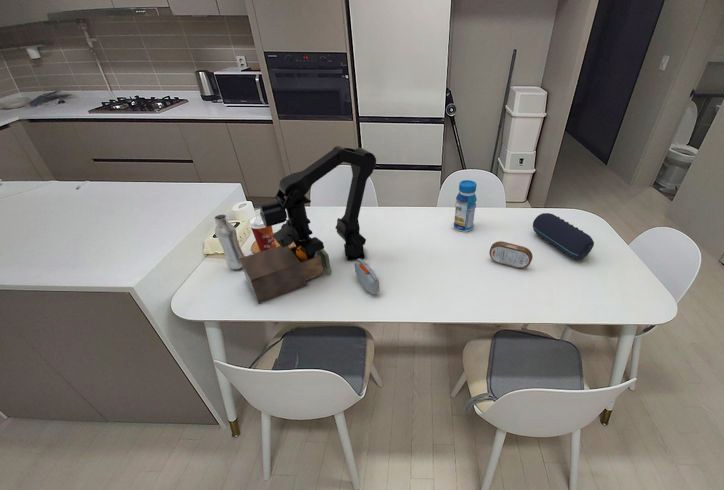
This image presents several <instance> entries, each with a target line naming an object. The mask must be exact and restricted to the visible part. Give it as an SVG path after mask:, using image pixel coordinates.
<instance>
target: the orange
mask: <svg viewBox="0 0 724 490" xmlns="http://www.w3.org/2000/svg"><path fill="white" fill-rule="evenodd" d="M300 248H301V245H300V246H299V247H298V248H297V250H296V256H297V258H298V259H299V260H300V261H305V260H308V259H307V256H306V254H305V253H304V252H303V251H301V250H300Z"/></svg>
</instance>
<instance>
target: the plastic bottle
mask: <svg viewBox="0 0 724 490" xmlns="http://www.w3.org/2000/svg"><path fill="white" fill-rule="evenodd" d="M214 221H215V224H216V225H215V229H214V234H215V236H216V239H217V240H218V242H219V243H220V246H221V248H222V250H223V254H224V257H225V263H226V265H227V267H228V268H230V269H231V270H240V269H243V268H242V265H241V262H240V259H239V258H243V257H246V256H245V253H244V252H243V250H242V248H241V246H240V243H239V240H238V235H237V229H236V227H235V225H233V224H232V223H230V222H229V219H228V217H227V215H226V214H218V215H215V216H214Z"/></svg>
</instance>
